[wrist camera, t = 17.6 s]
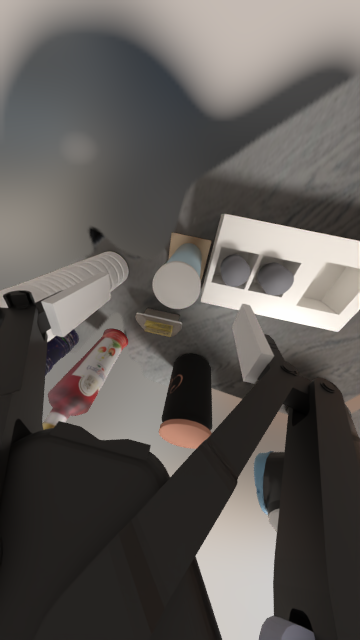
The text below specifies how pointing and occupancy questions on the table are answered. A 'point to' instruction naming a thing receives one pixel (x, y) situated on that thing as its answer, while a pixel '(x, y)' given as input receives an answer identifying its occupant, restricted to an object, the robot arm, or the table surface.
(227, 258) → the button
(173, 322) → the platform
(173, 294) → the cartridge
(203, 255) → the coaster
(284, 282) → the button
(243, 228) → the housing
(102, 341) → the liquor
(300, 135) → the table surface
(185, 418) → the coffee jar
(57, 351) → the storage jar
